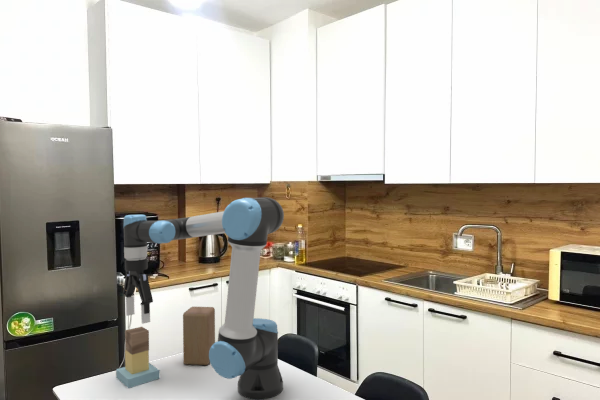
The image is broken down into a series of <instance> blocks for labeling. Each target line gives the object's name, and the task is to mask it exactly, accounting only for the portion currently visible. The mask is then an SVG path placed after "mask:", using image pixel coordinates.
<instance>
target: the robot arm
mask: <svg viewBox="0 0 600 400" xmlns="http://www.w3.org/2000/svg"><path fill="white" fill-rule="evenodd" d="M284 212H285V211H284V208H283V207H282V205H281V204H280V203H279V201H277V200H275V198H274V199H273V198H271V197H265V196H264V197H242V198H239V199H235V200H233V201H231V202H230V203H229V204H227V206H226V207H225V208H224V211H217V212H212V213H207V214H206V213H205V214H201V215H200V214H198V215H195V216H194V215H193V216H187V217H181V218H173V219H172V218H170V219H159V220H147V215H145V214H128V215H127V214H126V215H125V216H124V217H123V227H122V229H123V243H124V247H123V253H124V254H123V255H124V259H125V260H124V270H125V277H124V278H125V279H124V285H123V291H122V295H124V297H125V314H126V316H127V317H128V316H132V315H135V289H137V291H138V294H139V298H140V301H141V302H140V311H141V312H140V313H141V315H140V316H141V324H142V325H144V324H149V323H150V322H151V306H150V305H151V303H153V302H154V299H153V296H152V290H151V285H150V282H149V274H148V273H146V274H145V273H144V271H145V270H148V268H149V265H148V260H149V259H148V258H147V257H148V250H149V248H148V243H151V244H158V245H159V244H168V243H170V242H172V241H177V240H186V239H192V238H197V237H205V236H213V235H214V236H215V235H221V234H226V236H227V243H228V244H229V245H230V246H231V257H230V266H229V267H230V268H229V277H228V287H227V295H226V297H227V298H226V305H225V306H226V308H225V316H224V317H225V318H224V323H223V324H222V325H221V326H220V327H219V328H218V335H217V341H215V343H214V344H213V345H212V346H211V348H210V350H209V360H210V363H209V364H210V366H211V367H212V368H213V370H214V371H215V373H216V374H217V375H218V376H220V377H221V378H223V379H228V380H231V379H235V378H236V377H239V379H238V381H237V392H238V394H240V395H241V396H242V397H244V398H247V399H254V400H262V399H269V398H273V397H276V396H277V395H279V394H281V393H282V391H283V390H284V381H283V377H282V373H281V371H280V368H279V365H278V361H279V360H278V358H279V357H278V355H279V351H278V349H279V348H278V347H279V345H278V343H279V342H278V341H279V331H278V324H277V322H276V321H275V320H272V319H268V318H258V317H257V318H255V308H256V300H257V299H256V298H257V291H258V290H257V288H258V280H259V279H258V278H259V269H260V260H261V252H262V249H264V248H265V247H266V246H267V242H268V235H271V234H273V233H274V232H277V230H279V229H280V227H282V225H283V222H284V219H285V218H284V217H285V213H284Z"/></svg>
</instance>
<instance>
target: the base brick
mask: <svg viewBox="0 0 600 400" xmlns="http://www.w3.org/2000/svg"><path fill="white" fill-rule="evenodd" d="M115 375H116V380H118V381H119V382H121V383H122V384H123V385H124V386H125V387H126V388H127V389H130V388H133V387H136V386H137V387H138V386H139V385H143V384H146V383H149V382H152V381H155V380H159V379H160V369H159V368H157V367H156V366H155V365H153V364H152V363H150V362H149V370H145V371H142V372H139V373H135V374H131V373H130V372H128V371H127V370H126V369H125V366H122V367H119V368H116V371H115Z"/></svg>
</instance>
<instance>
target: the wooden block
mask: <svg viewBox="0 0 600 400" xmlns="http://www.w3.org/2000/svg"><path fill="white" fill-rule="evenodd" d="M215 315H216V310H215V307H213V306H191V307H189V308H188V309H187V310H185V312H183V315H182V336H183V338H182V342H183V343H182V345H183V348H182V349H183V350H182V351H183V359H182V361H183V364H184V365H196V366H197V365H199V366H207V365H209V364H211V363H210V360H209V350H210V348H211V346H212V345H213V344H214V343H215V342H216V316H215Z"/></svg>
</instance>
